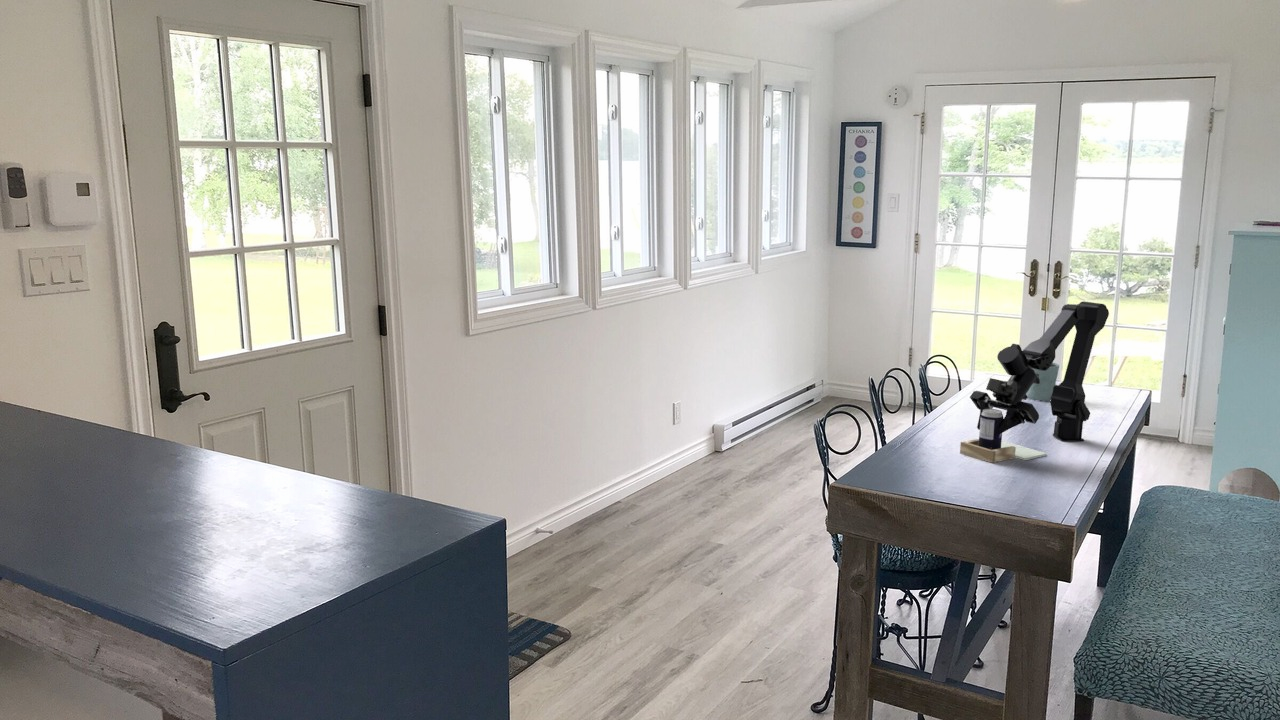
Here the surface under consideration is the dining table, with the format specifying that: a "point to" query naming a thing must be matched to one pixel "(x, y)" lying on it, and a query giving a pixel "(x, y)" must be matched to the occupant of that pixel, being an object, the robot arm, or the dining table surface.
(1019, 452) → the sage pad
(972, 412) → the dining table surface
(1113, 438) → the dining table surface
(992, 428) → the beverage can
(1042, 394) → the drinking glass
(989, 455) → the frame
